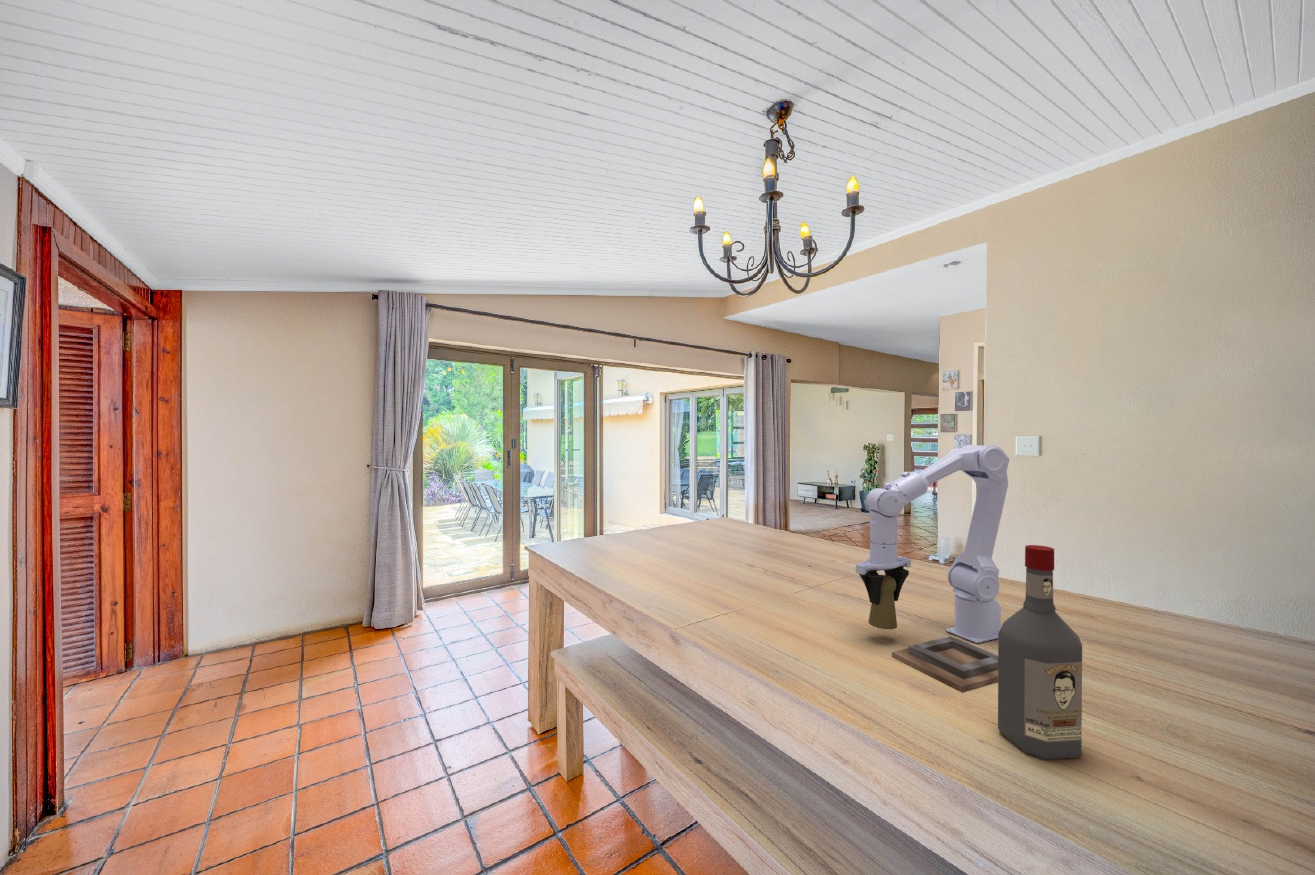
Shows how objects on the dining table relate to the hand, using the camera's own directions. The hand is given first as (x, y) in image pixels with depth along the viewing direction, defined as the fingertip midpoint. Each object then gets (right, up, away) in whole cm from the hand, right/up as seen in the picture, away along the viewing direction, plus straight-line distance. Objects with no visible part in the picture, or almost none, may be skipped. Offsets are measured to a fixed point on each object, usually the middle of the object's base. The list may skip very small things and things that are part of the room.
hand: (883, 601), depth 118 cm
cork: (0, -5, 0) cm, 5 cm away
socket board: (+9, -9, -12) cm, 18 cm away
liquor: (+7, -10, -38) cm, 40 cm away
